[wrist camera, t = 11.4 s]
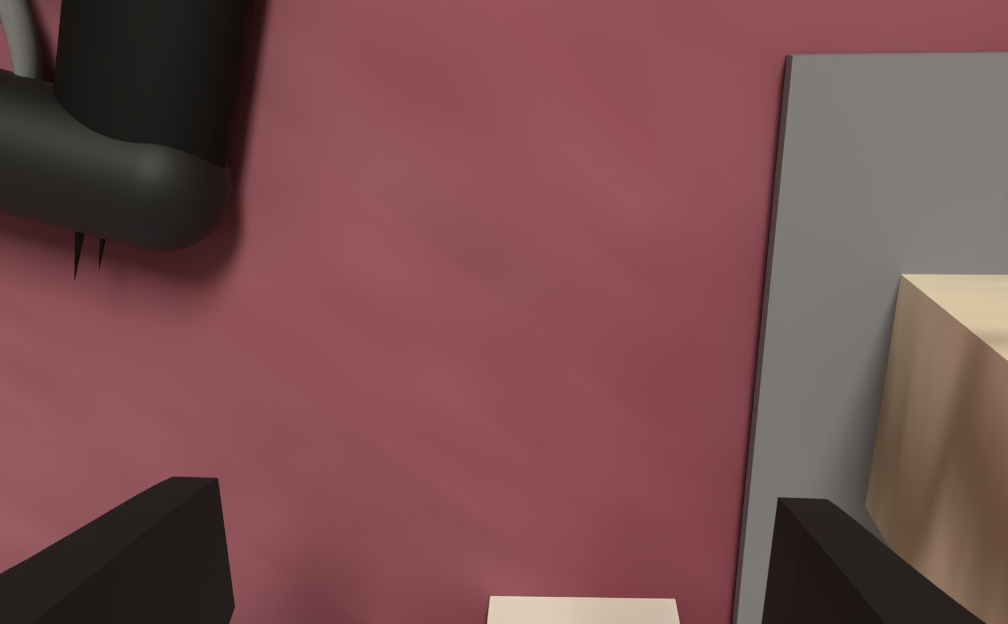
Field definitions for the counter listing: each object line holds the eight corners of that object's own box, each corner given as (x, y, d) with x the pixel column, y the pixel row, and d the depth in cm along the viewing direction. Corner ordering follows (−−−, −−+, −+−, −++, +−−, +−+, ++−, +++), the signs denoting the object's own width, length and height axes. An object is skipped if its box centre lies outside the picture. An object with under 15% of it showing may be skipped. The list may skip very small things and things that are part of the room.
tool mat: (1146, 674, 23) (1159, 688, 22) (728, 659, 23) (731, 673, 23) (1342, 48, 17) (1363, 49, 17) (786, 54, 18) (793, 56, 17)
